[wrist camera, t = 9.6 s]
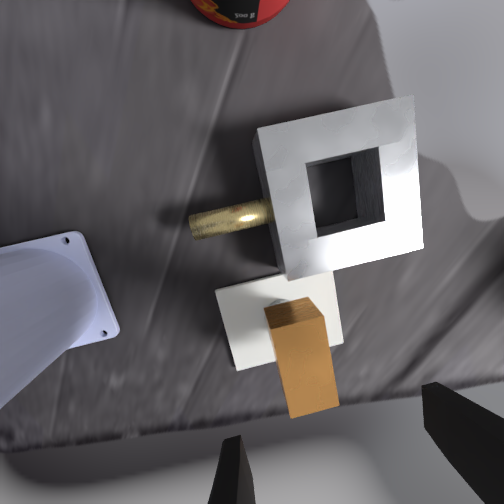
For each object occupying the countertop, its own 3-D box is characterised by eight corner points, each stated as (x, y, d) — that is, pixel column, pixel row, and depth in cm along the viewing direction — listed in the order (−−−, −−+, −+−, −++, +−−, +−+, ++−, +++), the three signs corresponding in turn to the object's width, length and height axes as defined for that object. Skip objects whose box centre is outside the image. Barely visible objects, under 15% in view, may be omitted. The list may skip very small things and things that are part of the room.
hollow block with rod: (213, 283, 18) (210, 300, 14) (178, 159, 16) (166, 148, 12) (389, 240, 18) (423, 247, 15) (378, 115, 16) (413, 94, 13)
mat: (236, 367, 19) (237, 370, 19) (215, 289, 18) (214, 291, 17) (341, 340, 20) (343, 343, 19) (329, 261, 18) (331, 262, 18)
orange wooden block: (305, 342, 19) (339, 405, 13) (271, 351, 19) (290, 418, 13) (292, 278, 18) (324, 315, 12) (256, 287, 17) (270, 329, 12)
